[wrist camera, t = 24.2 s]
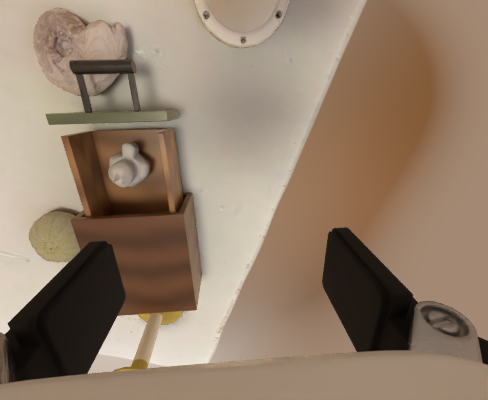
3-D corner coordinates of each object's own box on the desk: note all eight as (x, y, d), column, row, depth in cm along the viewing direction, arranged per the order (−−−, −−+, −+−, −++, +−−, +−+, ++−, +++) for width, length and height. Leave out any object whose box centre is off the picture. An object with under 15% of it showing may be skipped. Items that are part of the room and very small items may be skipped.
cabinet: (101, 196, 40) (69, 220, 32) (192, 192, 41) (183, 214, 33) (124, 279, 47) (102, 316, 39) (201, 275, 48) (196, 310, 39)
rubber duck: (116, 178, 37) (89, 196, 30) (118, 135, 35) (88, 144, 27) (152, 184, 38) (134, 204, 30) (156, 143, 35) (137, 153, 28)
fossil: (36, 96, 30) (7, 1, 27) (60, 98, 34) (37, 16, 31) (128, 92, 30) (111, -4, 27) (142, 95, 34) (128, 11, 31)
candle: (142, 326, 52) (23, 633, 22) (129, 291, 48) (-36, 605, 18) (187, 320, 52) (132, 617, 22) (178, 285, 48) (96, 585, 18)
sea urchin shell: (100, 226, 40) (67, 271, 36) (103, 233, 47) (75, 272, 43) (44, 198, 38) (3, 243, 34) (55, 210, 44) (22, 249, 41)
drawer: (67, 67, 32) (26, 57, 26) (172, 65, 33) (158, 55, 26) (107, 215, 40) (84, 236, 34) (190, 211, 41) (183, 230, 35)
